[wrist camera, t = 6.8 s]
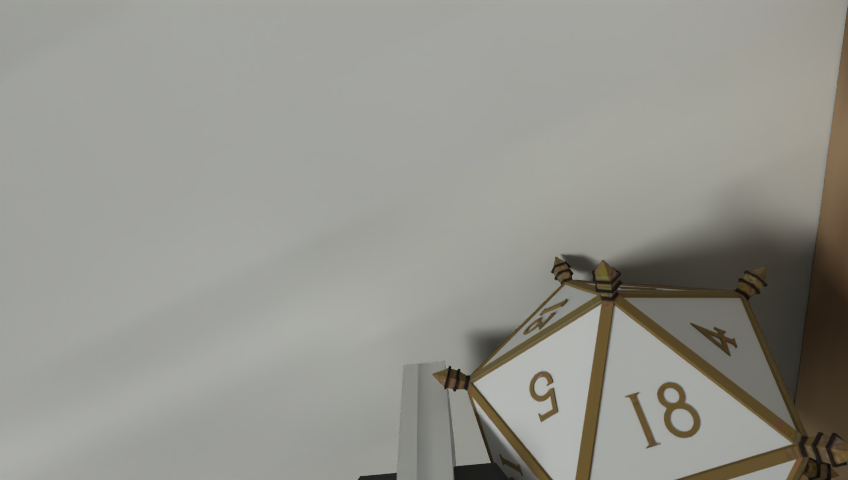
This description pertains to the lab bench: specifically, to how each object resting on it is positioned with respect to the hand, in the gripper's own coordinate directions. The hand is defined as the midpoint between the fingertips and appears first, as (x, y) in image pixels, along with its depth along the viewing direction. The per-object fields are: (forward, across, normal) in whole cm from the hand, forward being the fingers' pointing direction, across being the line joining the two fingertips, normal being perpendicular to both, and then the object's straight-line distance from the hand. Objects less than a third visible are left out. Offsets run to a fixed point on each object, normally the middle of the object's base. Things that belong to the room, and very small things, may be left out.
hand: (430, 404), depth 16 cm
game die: (+2, +5, 0) cm, 5 cm away
